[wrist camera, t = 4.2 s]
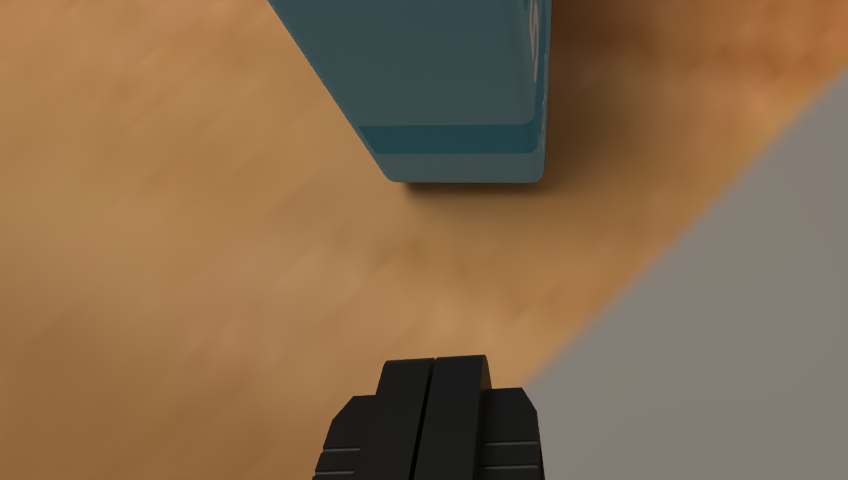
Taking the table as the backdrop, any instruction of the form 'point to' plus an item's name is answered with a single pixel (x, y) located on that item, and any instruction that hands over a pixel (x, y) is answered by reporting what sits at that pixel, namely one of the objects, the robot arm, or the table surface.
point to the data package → (435, 82)
